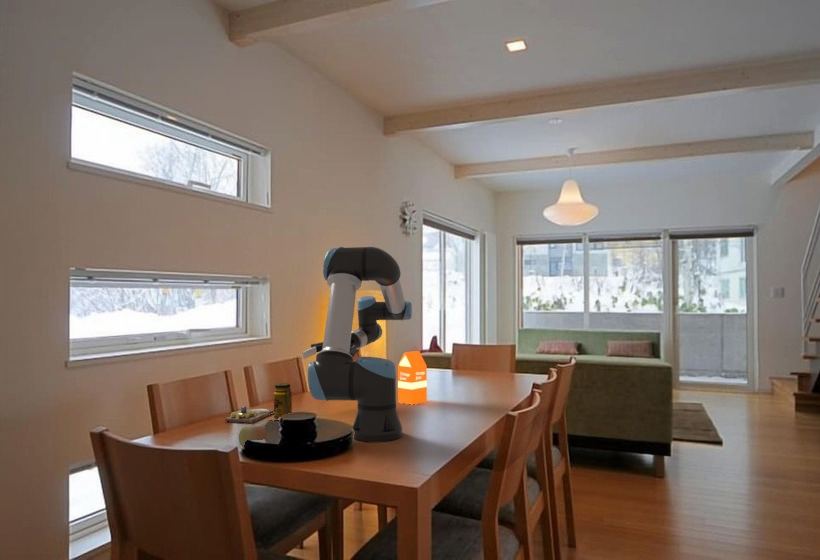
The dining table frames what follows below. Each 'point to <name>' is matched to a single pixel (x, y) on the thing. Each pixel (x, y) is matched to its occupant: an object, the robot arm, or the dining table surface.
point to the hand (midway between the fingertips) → (317, 358)
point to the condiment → (282, 400)
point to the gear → (244, 413)
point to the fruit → (252, 433)
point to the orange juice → (412, 379)
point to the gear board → (260, 414)
